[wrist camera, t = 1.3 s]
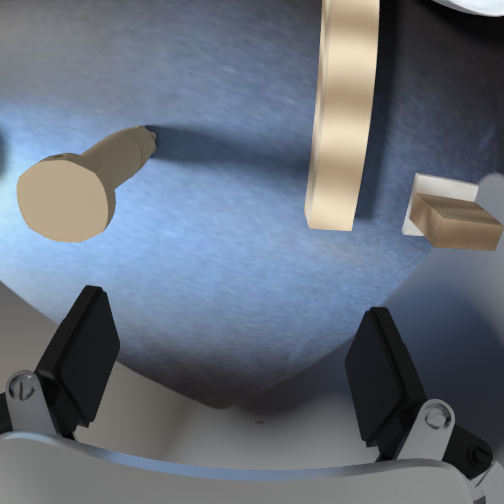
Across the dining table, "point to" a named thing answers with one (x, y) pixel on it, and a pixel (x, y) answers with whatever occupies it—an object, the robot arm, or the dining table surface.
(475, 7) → the serving bowl
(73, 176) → the handle
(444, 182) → the wooden block on base
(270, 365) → the dining table surface
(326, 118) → the beam
